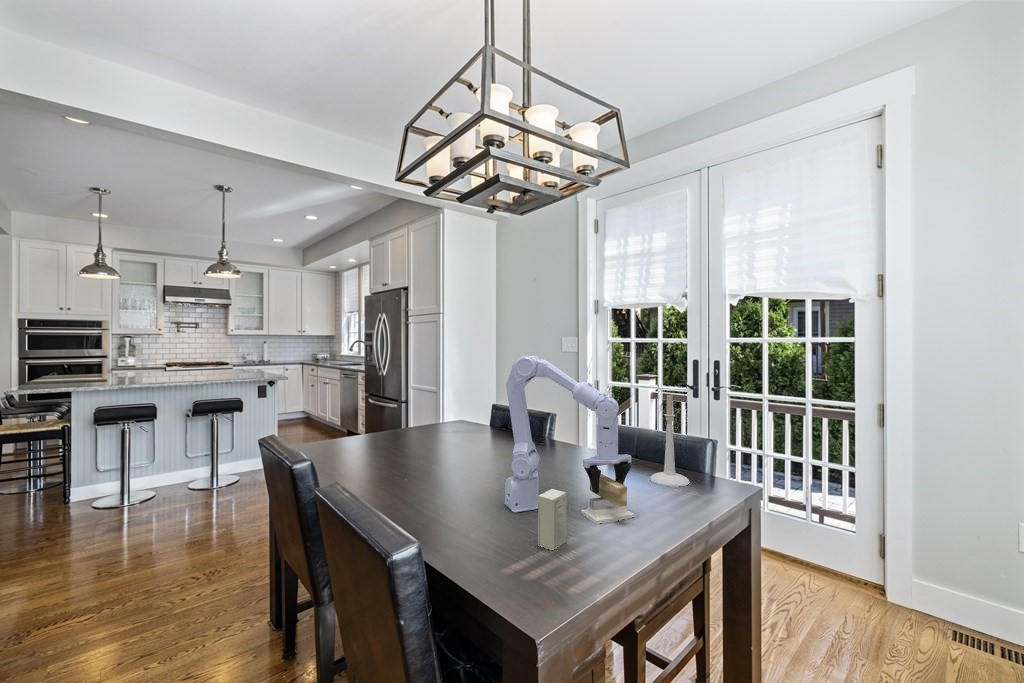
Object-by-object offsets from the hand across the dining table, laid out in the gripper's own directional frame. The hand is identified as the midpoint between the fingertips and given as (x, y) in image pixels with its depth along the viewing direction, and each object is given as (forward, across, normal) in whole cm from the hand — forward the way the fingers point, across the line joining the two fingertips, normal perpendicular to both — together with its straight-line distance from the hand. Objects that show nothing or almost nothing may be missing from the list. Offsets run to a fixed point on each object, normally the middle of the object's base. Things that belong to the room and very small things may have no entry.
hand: (607, 490), depth 125 cm
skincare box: (+7, -22, -10) cm, 25 cm away
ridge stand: (+7, 0, 0) cm, 7 cm away
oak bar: (+2, 0, 0) cm, 2 cm away
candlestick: (+7, +37, +18) cm, 42 cm away
